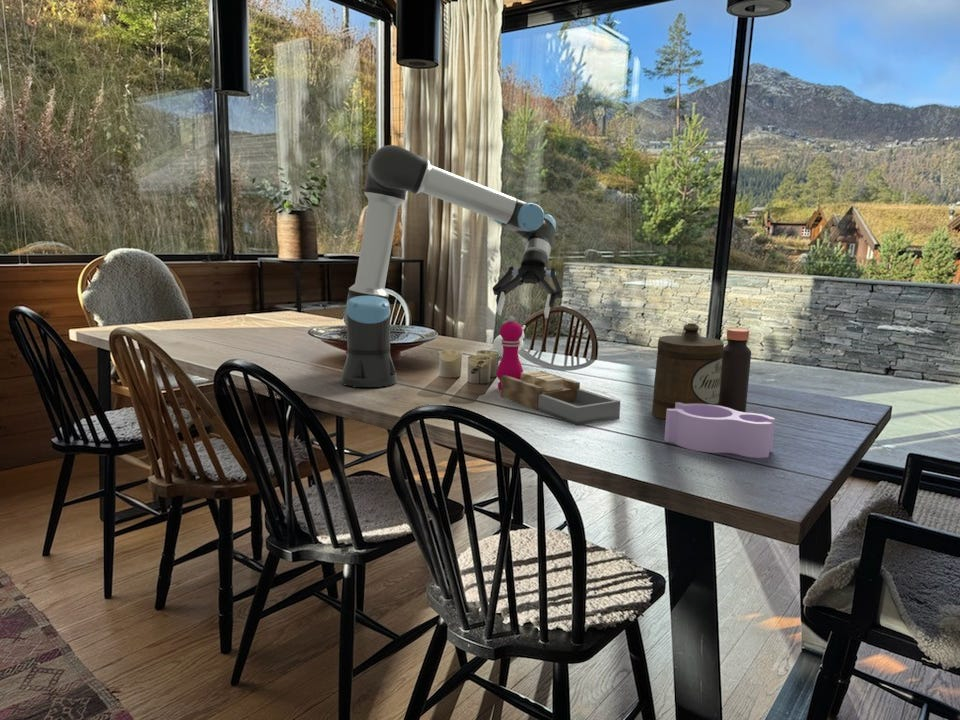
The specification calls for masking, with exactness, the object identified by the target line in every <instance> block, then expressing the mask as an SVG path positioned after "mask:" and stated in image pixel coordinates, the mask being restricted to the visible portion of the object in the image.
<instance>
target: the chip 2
mask: <svg viewBox="0 0 960 720" xmlns="http://www.w3.org/2000/svg"><path fill="white" fill-rule="evenodd" d="M563 381H564V379H562V378H559V377H555V376H552V375H549V376H540V377H535V385H537V386H540V387H543V390H545V391H551V390H559V389H563Z"/></svg>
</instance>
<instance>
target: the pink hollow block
mask: <svg viewBox="0 0 960 720" xmlns="http://www.w3.org/2000/svg"><path fill="white" fill-rule="evenodd" d="M775 425H776V418H775V417H772V416H771V415H770V416H769V415H767V414H763V413H757V412H747V411H746V412H740V411H736V410H733V409H731V408H727V407H723V406H718V405H712V404H698V403H693V404H683V403H681V402H676V403H675V409H667V411H666V420H665V428H664V438H663V439H664V440H663V441H664V442H665V443H673V444H675V445H676V446H679V447H682V448H684V449H687V450H690V451H696V452H701V453H702V452H703V453H710V454H711V453H713V454H715V453H716V454H719V453H727V454H728V453H730V454H735V455H739V456H743V457H747V458H753V459H754V458H755V459H756V458H758V459H764V458H769V456H770V453H772V452H773V443H774V435H775Z"/></svg>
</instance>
